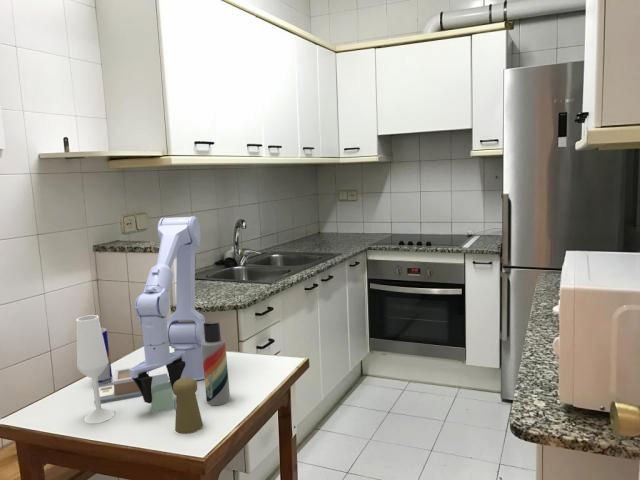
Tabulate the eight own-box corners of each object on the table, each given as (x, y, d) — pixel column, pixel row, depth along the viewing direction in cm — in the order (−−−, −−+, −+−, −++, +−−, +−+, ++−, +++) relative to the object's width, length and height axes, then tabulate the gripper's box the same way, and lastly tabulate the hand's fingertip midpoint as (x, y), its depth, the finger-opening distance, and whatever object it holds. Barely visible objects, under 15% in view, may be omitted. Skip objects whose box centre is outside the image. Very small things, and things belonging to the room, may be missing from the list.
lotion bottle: (202, 404, 131) (194, 324, 128) (214, 394, 136) (207, 317, 133) (222, 406, 129) (215, 325, 126) (234, 396, 134) (227, 318, 131)
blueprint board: (167, 376, 150) (165, 360, 149) (169, 391, 140) (167, 374, 139) (97, 388, 144) (95, 371, 144) (94, 404, 134) (92, 386, 133)
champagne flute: (100, 408, 132) (88, 313, 128) (120, 412, 129) (109, 315, 125) (77, 420, 126) (64, 321, 122) (98, 425, 123) (85, 323, 119)
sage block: (172, 400, 134) (170, 381, 133) (174, 408, 129) (172, 389, 129) (151, 404, 133) (149, 385, 132) (152, 412, 128) (150, 392, 127)
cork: (177, 422, 122) (172, 375, 121) (204, 419, 123) (200, 373, 121) (172, 435, 116) (167, 386, 115) (201, 432, 117) (196, 384, 115)
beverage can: (105, 386, 145) (99, 332, 143) (88, 386, 146) (82, 332, 144) (116, 379, 150) (110, 327, 148) (99, 378, 151) (93, 327, 149)
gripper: (171, 331, 137) (176, 382, 139) (119, 348, 126) (125, 403, 127) (188, 335, 133) (193, 388, 134) (136, 353, 121) (143, 410, 123)
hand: (161, 396), depth 131 cm, fingers open, 7 cm apart
